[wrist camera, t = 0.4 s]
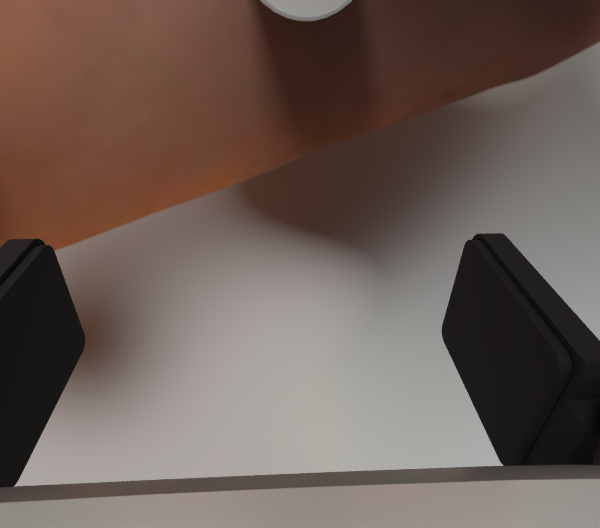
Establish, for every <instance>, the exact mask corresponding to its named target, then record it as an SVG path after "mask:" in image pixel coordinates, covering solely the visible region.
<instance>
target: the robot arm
mask: <svg viewBox="0 0 600 528" xmlns="http://www.w3.org/2000/svg"><path fill="white" fill-rule="evenodd" d="M442 337H443V340H444V343H445V345H446V347H447V349H448V351H449V354H450V356H451V358H452V360H453V362H454V364H455V366H456V368H457V371H458V373H459V375H460V377H461V379H462V381H463V383H464V386H465V388H466V389H467V392H468V394H469V396H470V398H471V400H472V402H473V405H474V407H475V409H476V411H477V413H478V415H479V418H480V420H481V422H482V424H483V426H484V428H485V430H486V432H487V435H488V437H489V439H490V441H491V443H492V445H493V447H494V449H495V452H496V454H497V456H498V458H499V460H500V462H501V463H502V464H503V466H485V467H484V466H483V467H456V468H429V469H404V470H377V471H353V472H352V471H351V472H326V473H302V474H279V475H254V476H233V477H211V478H210V477H209V478H186V479H163V480H143V481H125V482H124V481H122V482H101V483H80V484H59V485H40V486H18V487H13V486H14V485H15V484H16V483H17V481H18V480H19V478H20V476H21V474H22V472H23V470H24V468H25V466H26V464H27V462H28V460H29V458H30V455H31V454H32V452H33V450H34V448H35V446H36V444H37V442H38V440H39V438H40V436H41V434H42V432H43V430H44V428H45V426H46V424H47V422H48V420H49V418H50V416H51V414H52V412H53V410H54V408H55V405H56V404H57V402H58V400H59V398H60V396H61V394H62V392H63V390H64V388H65V386H66V384H67V382H68V380H69V378H70V376H71V374H72V372H73V370H74V368H75V366H76V364H77V362H78V360H79V358H80V356H81V354H82V352H83V350H84V346H85V335H84V332H83V329H82V326H81V324H80V321H79V318H78V315H77V313H76V310H75V307H74V304H73V302H72V299H71V296H70V293H69V290H68V288H67V285H66V282H65V279H64V277H63V274H62V271H61V268H60V266H59V263H58V261H57V257H56V255H55V252H54V250H53V248H52V247H51V246H49V245H45V243H44V242H43V241H42V240H40V239H11V240H8V241H7V242H6V243H5V244H4V245H3V246H2V247H1V248H0V528H600V341H599V340H598V338H597V337H596V336H595V335H594V334H593V333H592V332H591V331H590V330H589V328H587V326H586V325H585V324H584V323H583V322H582V321H581V319H580V318H579V317H578V316H577V315H576V314H575V313H574V312H573V311H572V309H571V308H570V307H569V306H568V305H567V304H566V303H565V302H564V300H563V299H562V298H561V297H560V296H559V295H558V294H557V293H556V292H555V290H554V289H553V288H552V287H551V286H550V285H549V284H548V283H547V282H546V280H545V279H544V278H543V277H542V276H541V275H540V274H539V273H538V271H537V270H536V269H535V268H534V267H533V266H532V265H531V264H530V263H529V261H528V260H527V259H526V258H525V257H524V256H523V255H522V254H521V252H520V251H519V250H518V249H517V248H516V247H515V246H514V245H513V244H512V242H511V241H510V240H509V239H508V238H507V237H506V236H505V235H504V234H500V233H499V234H477V235H475V236H474V237H473V239H472V240H468V241H467V242H466V243H465V246H464V249H463V253H462V256H461V260H460V264H459V267H458V271H457V275H456V278H455V282H454V285H453V289H452V293H451V296H450V300H449V303H448V307H447V311H446V314H445V318H444V321H443V325H442Z"/></svg>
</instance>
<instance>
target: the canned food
mask: <svg viewBox="0 0 600 528" xmlns="http://www.w3.org/2000/svg"><path fill="white" fill-rule="evenodd" d="M260 1H261V2H262V3H263V4H264V5H265V6H267V7H268V8H269V9H271V10H272V11H273V12H275V13H277V14H279V15H281V16H283V17H285V18H288V19H293V20H297V21H315V20H320V19H324V18H327V17H329V16H331V15H333V14H335V13H337V12H339V11H340V10H341V9H343V8H344V7H345V6H346V5H348V4H349V3H350V2H351V1H352V0H260Z"/></svg>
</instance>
